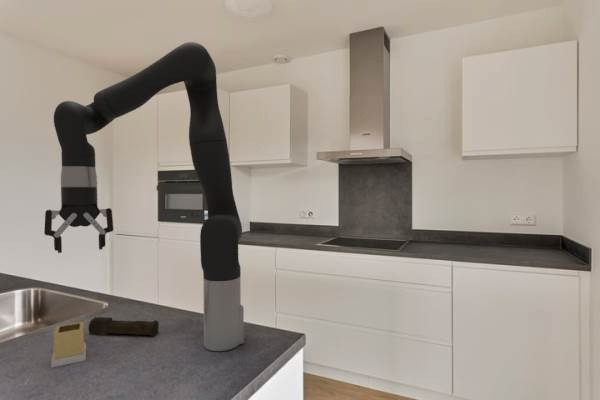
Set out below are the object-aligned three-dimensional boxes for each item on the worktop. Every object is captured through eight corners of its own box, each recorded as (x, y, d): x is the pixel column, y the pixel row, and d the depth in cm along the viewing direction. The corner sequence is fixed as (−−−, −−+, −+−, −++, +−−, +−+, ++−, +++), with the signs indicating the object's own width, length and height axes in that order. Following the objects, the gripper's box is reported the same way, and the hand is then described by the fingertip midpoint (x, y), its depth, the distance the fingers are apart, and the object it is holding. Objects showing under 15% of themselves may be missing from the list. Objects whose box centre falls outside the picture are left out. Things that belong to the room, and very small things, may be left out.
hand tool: (160, 332, 94) (160, 316, 94) (152, 339, 90) (152, 321, 90) (95, 330, 96) (95, 313, 96) (85, 336, 92) (85, 319, 92)
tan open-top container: (84, 343, 84) (83, 321, 83) (83, 353, 79) (83, 329, 79) (56, 349, 81) (55, 326, 80) (54, 359, 76) (53, 334, 76)
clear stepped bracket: (86, 333, 93) (86, 316, 93) (85, 360, 79) (85, 340, 78) (58, 338, 90) (57, 321, 90) (51, 367, 75) (50, 347, 75)
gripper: (42, 185, 77) (44, 256, 78) (113, 185, 85) (114, 250, 86) (44, 185, 84) (46, 251, 84) (111, 185, 91) (112, 246, 92)
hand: (80, 250), depth 85 cm, fingers open, 8 cm apart
